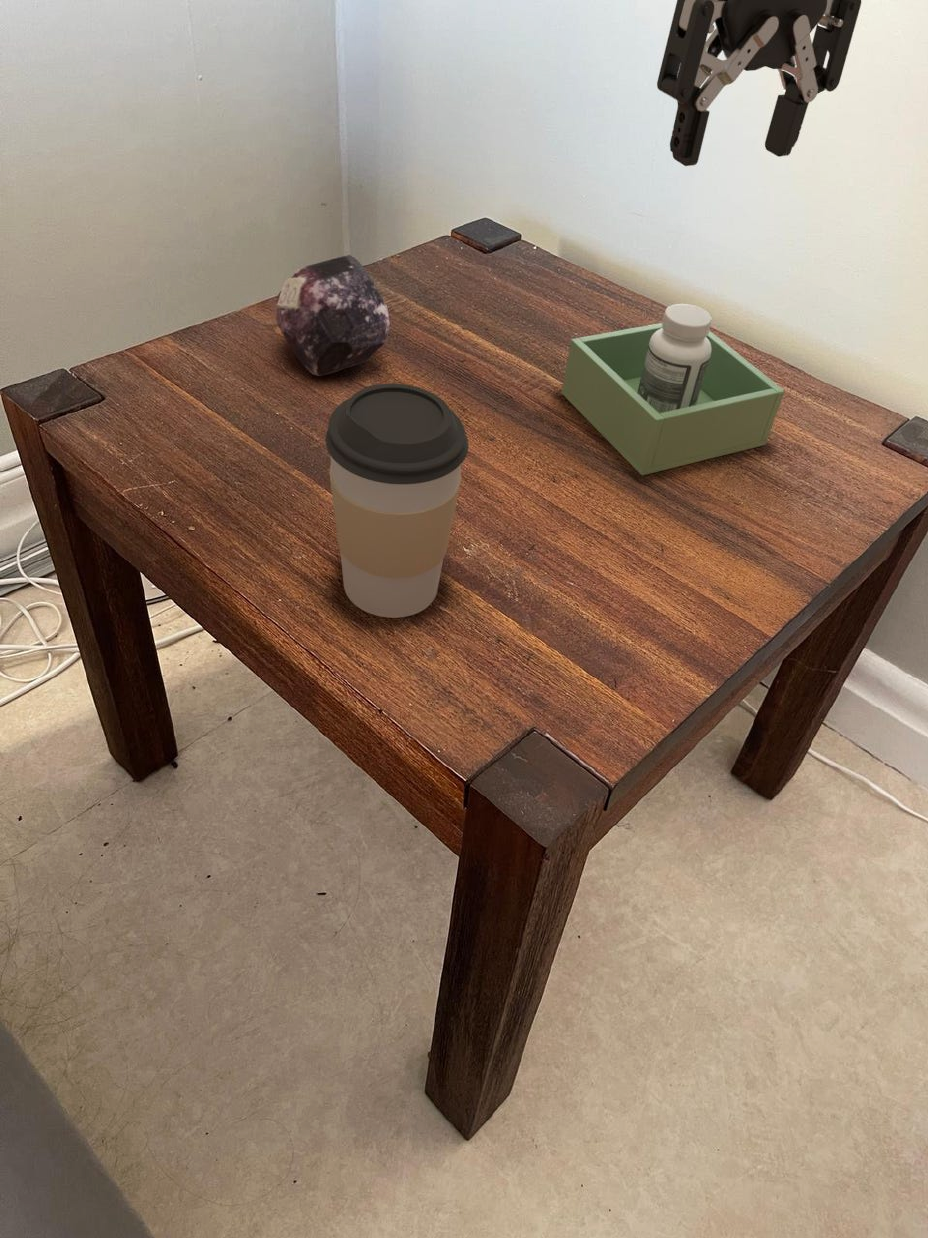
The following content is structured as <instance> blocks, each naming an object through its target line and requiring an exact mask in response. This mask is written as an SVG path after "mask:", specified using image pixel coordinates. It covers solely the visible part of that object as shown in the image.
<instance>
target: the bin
mask: <svg viewBox="0 0 928 1238" xmlns="http://www.w3.org/2000/svg"><path fill="white" fill-rule="evenodd" d="M661 328H662V322H659V323H653V324H649V325H642V326H636V327H631V328H626V329H620V330H615V331H610V332H609V331H608V332H604V333H599V334H593V335H587V336H581V337H576V338H571V339H570V343H569V349H568V355H567V359H566V365H565V371H564V376H563V381H562V388H561V392H560V393H561V394H562V396H563V397H564V398H565V399H566V400H568V402H569V403H570V404H571V405H572V406H573V407H574V408H575V409H576V410H577V411H578V412H579V413H580V414H581V415H582V416H583V417H584V418H585V419H586V420H587V421H588V423H589V424H591V425H592V426H593V427H594V428H595V429H596V430H597V432H599V434H601V436H602V437H604V439H605V440H606V441H607V442H608V443H609V444H610V445H611V446H612V447H613V448H614V449H615V450H616V451H617V452H618V453H619V454H620V455H621V456H622V457H623V458H624V459H625V460H626V461H627V462H628V463H629V464H630V465H631V466H632V468H634V469H635V470H636V471H637V473H638V474H639V475H640V476H646V475H650V474H654V473H657V472H658V473H659V472H661V471H665V470H666V471H667V470H671V469H675V468H677V467H678V468H679V467H682V466H687V465H691V464H694V463H698V462H702V461H706V460H710V459H715V458H718V457H723V456H726V455H730V454H734V453H738V452H742V451H747V450H751V449H754V448H758V447H762V446H763V447H764V446H766V445H767V442H768V439H769V436H770V433H771V431H772V428H773V425H774V422H775V420H776V417H777V414H778V412H779V409H780V406H781V404H782V401H783V398H784V395H785V392H786V391H785V390H784V389H783V388H782V387H780V385H778V384H777V383H776V382H775V381H773V380H772V379H771V378H769V377H768V376H767V375H766V374H764V373H763V372H762V371H761V370H759V369H758V368H757V367H755V366H754V365H753V364H752V363H751V362H749V361H748V360H747V359H746V358H744V357H743V356H742V355H741V354H739V353H738V352H737V351H735V350H734V349H733V348H732V347H731V346H729V345H728V344H726V342H724V341H723V340H722V339H720V338H719V337H718V336H717V335H715V334H714V333H713V332H711V330H710V331H709V333H708V335H707V339H708V340H709V342H710V344H711V355H710V358H709V362H708V365H707V369H706V372H705V375H704V379H703V382H702V386H701V389H700V393H699V396H698V400H697V404H696V405H695V406H691V407H686V408H682V409H677V410H673V411H668V412H664V413H660V414H659V413H658V412H657V411H656V410H655V409H654V408H653V407H651V406H650V405H649V404H648V403H647V402H646V401H645V400H644V399H643V398H642V397H641V396H640V395H639V394H638V388H639V384H640V380H641V376H642V371H643V367H644V363H645V359H646V354H647V350H648V345H649V342H650V339H651V337H652V335H653V334H654V333H655V332H656V331H657V330H659V329H661Z"/></svg>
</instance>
